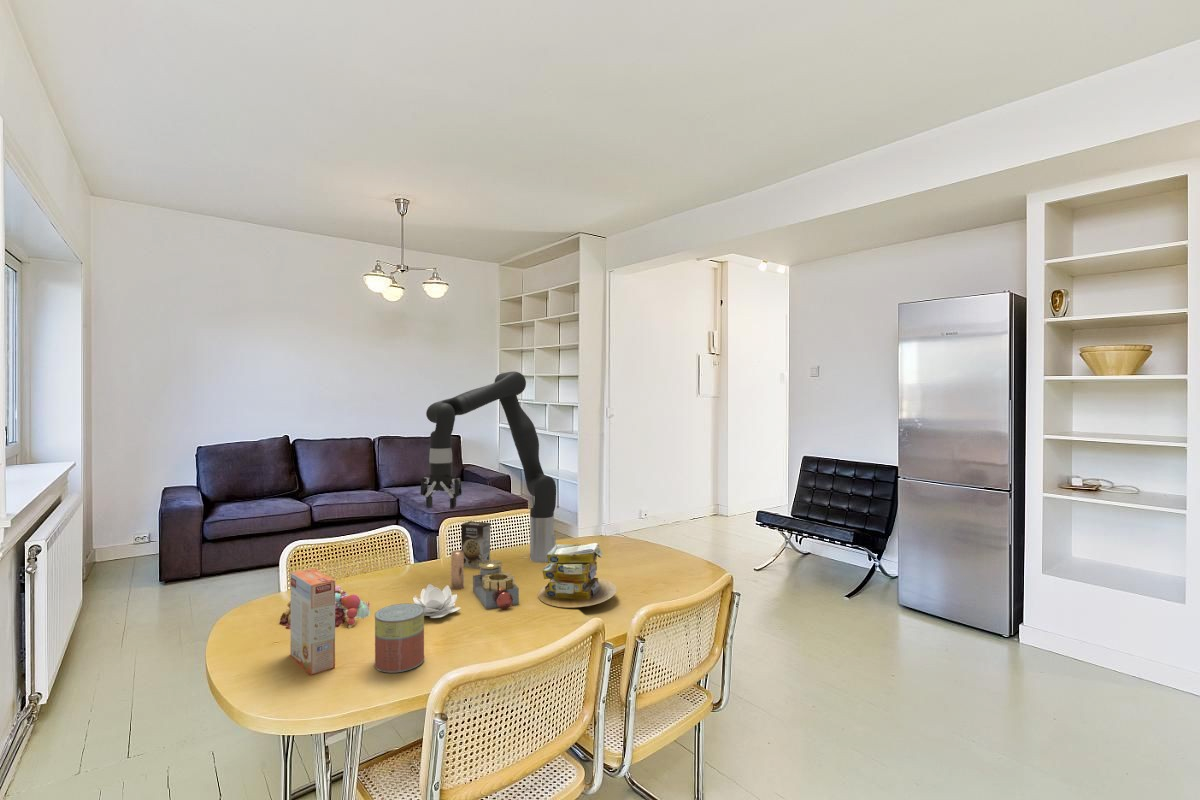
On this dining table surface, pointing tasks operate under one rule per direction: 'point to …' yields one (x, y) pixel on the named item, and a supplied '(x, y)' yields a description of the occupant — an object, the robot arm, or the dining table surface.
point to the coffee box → (475, 543)
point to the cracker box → (313, 620)
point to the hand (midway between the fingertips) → (441, 508)
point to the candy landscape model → (338, 609)
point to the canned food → (399, 637)
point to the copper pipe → (457, 569)
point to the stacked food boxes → (574, 577)
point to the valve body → (495, 586)
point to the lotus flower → (437, 601)
